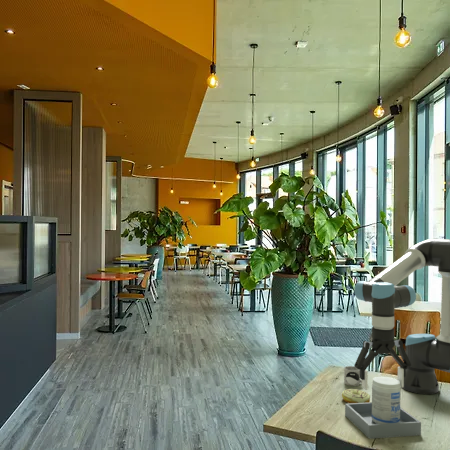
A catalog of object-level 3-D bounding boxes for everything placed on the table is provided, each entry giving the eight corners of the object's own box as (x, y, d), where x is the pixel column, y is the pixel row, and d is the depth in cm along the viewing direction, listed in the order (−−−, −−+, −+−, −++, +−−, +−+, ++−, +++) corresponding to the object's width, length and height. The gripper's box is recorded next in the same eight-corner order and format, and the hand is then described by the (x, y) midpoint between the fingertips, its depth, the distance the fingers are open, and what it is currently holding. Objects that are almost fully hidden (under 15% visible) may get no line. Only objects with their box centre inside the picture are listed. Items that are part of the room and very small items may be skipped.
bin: (391, 412, 175) (392, 401, 175) (420, 435, 157) (421, 422, 157) (345, 415, 172) (345, 403, 172) (369, 438, 154) (369, 425, 154)
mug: (345, 385, 204) (345, 370, 204) (343, 380, 210) (343, 365, 210) (368, 387, 203) (369, 371, 203) (366, 381, 209) (366, 367, 209)
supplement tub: (397, 430, 158) (398, 387, 158) (368, 423, 163) (369, 381, 163) (402, 420, 167) (403, 378, 167) (374, 414, 171) (375, 374, 171)
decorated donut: (364, 409, 179) (365, 399, 179) (337, 402, 185) (338, 392, 185) (373, 400, 187) (373, 391, 187) (347, 394, 194) (347, 385, 194)
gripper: (409, 323, 170) (409, 381, 170) (344, 326, 166) (344, 385, 166) (421, 328, 163) (421, 388, 163) (354, 331, 158) (354, 393, 159)
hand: (382, 387), depth 165 cm, fingers open, 13 cm apart
